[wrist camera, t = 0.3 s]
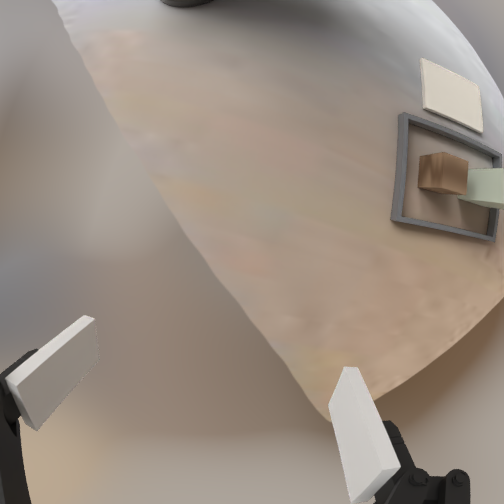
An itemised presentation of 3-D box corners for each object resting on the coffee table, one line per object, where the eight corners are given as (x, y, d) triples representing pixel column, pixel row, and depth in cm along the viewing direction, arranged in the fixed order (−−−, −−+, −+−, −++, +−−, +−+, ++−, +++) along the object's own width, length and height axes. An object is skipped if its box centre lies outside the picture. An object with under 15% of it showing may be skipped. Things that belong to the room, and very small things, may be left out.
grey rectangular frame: (398, 115, 34) (403, 112, 32) (495, 154, 34) (501, 154, 32) (390, 219, 38) (395, 221, 36) (488, 240, 37) (494, 242, 35)
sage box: (459, 169, 35) (506, 168, 23) (484, 179, 35) (529, 181, 23) (457, 198, 36) (504, 203, 25) (482, 206, 36) (527, 213, 24)
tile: (419, 59, 31) (421, 57, 30) (475, 87, 31) (478, 86, 30) (422, 108, 34) (425, 107, 33) (479, 133, 33) (483, 132, 32)
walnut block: (419, 156, 35) (443, 152, 29) (443, 164, 35) (468, 161, 28) (417, 187, 37) (441, 187, 30) (440, 193, 36) (466, 195, 30)
